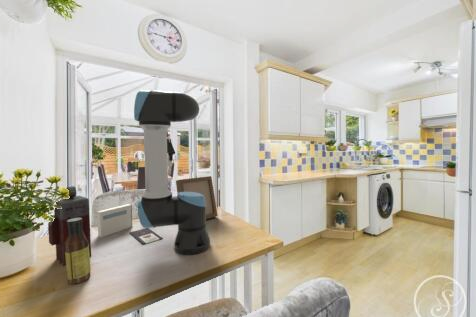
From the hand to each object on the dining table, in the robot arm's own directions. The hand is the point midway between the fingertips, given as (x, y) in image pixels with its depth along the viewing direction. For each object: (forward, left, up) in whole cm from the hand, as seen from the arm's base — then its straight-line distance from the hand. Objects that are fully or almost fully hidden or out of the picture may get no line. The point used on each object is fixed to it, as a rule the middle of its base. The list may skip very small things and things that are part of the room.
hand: (162, 165), depth 133 cm
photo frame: (-2, -21, -32) cm, 38 cm away
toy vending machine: (-52, +14, -32) cm, 63 cm away
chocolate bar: (-29, -4, -32) cm, 43 cm away
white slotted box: (-24, +15, -32) cm, 42 cm away
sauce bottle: (-64, 0, -32) cm, 71 cm away
